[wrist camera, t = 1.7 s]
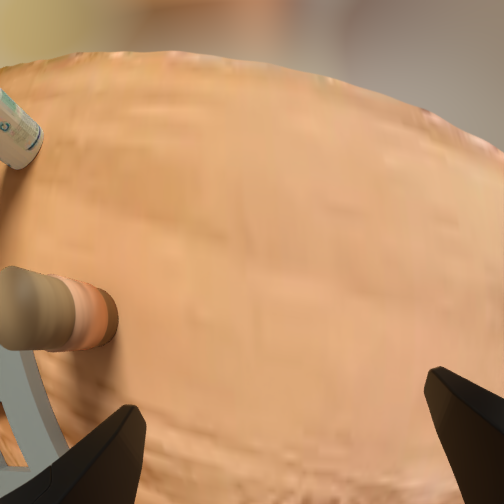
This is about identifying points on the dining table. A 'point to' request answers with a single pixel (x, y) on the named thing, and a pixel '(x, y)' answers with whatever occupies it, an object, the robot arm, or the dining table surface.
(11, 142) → the spray can
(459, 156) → the dining table surface
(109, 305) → the lidded jar
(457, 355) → the dining table surface
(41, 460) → the slotted shelf board
